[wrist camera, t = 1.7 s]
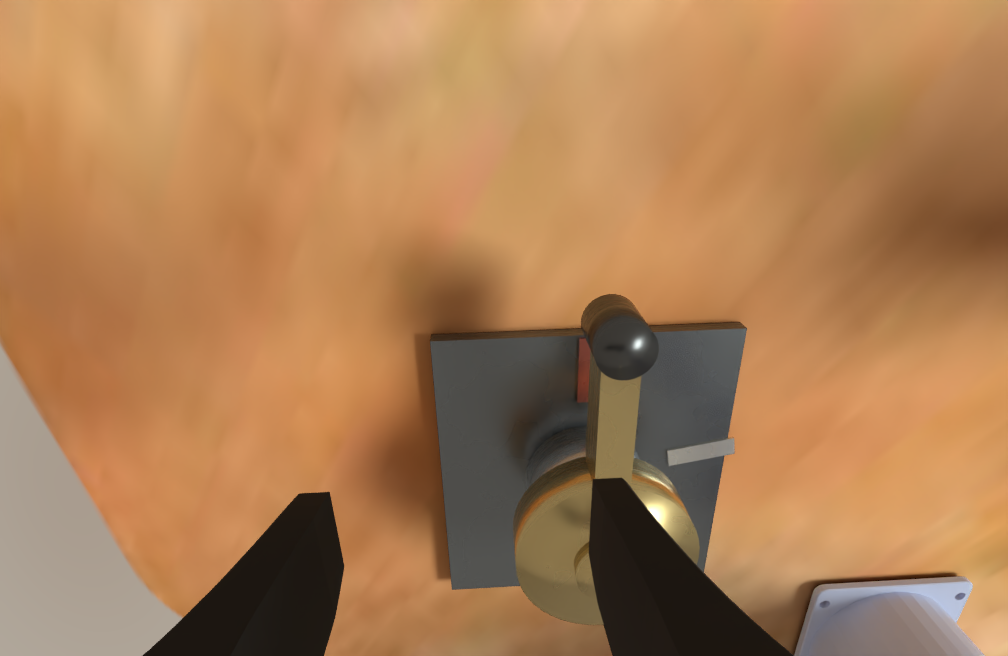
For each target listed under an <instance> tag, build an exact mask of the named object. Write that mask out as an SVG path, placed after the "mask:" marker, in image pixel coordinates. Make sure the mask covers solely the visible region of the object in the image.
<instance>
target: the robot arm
mask: <svg viewBox="0 0 1008 656" xmlns="http://www.w3.org/2000/svg"><path fill="white" fill-rule="evenodd" d="M589 559H590V564H591V570H592V576H593V582H594V587H595V592H596V598H597V603H598V606H599V610H600V614H601V617H602V621H603V624H604V627H605V631H606V634H607V638H608V641H609V645H610V648H611V651H612V655H613V656H985V655H984V654H983V653H982V652H981V651H980V650H979V648H978V647H977V646H976V645H975V644H974V643H973V642H972V641H971V639H970V638H969V637H968V636H967V635H966V634H965V633H964V632H963V630H962V629H961V628H960V627H959V626H958V625H957V624H956V622H957V620H958V618H959V616H960V614H961V612H962V609H963V607H964V605H965V603H966V601H967V599H968V597H969V594H970V592H971V590H972V587H973V585H972V583H971V582H970V581H969V580H968V579H967V578H966V577H961V576H958V577H940V578H923V579H905V580H888V581H870V582H853V583H835V584H822V585H819V586H817V587H816V588H815V589H814V591H813V594H812V597H811V600H810V604H809V607H808V611H807V614H806V617H805V621H804V624H803V627H802V631H801V634H800V637H799V641H798V644H797V647H796V651H795V654H794V655H792V654H791V653H790V652H789V651H788V650H786V649H785V648H784V647H783V646H782V645H780V644H779V643H778V642H777V641H776V640H774V639H773V638H772V637H771V636H770V635H769V634H768V633H766V632H765V631H764V630H763V629H762V628H761V627H760V626H759V625H757V624H756V623H755V622H754V621H753V620H752V619H751V618H750V617H749V616H747V615H746V614H745V613H744V612H743V611H742V610H741V609H740V608H739V607H738V606H737V605H736V604H735V603H734V602H733V601H732V600H731V599H729V598H728V597H727V596H726V595H725V594H724V593H723V592H722V591H721V590H720V589H719V588H718V587H717V586H716V585H715V584H714V583H713V582H712V581H711V580H710V579H709V577H708V576H707V575H706V574H705V573H704V572H703V571H702V570H701V569H700V568H699V567H698V566H697V565H696V564H695V563H694V562H693V561H692V559H691V558H690V557H689V556H688V555H687V554H686V553H685V552H684V551H683V549H682V548H681V547H680V546H679V545H678V544H677V543H676V542H675V541H674V539H673V538H672V537H671V536H670V535H669V534H668V533H667V531H666V530H665V529H664V528H663V527H662V525H661V524H660V523H659V522H658V521H657V519H656V518H655V517H654V516H653V515H652V513H651V512H650V511H649V510H648V508H647V507H646V506H645V505H644V503H643V502H642V501H641V500H640V498H639V497H638V496H637V494H636V493H635V492H634V491H633V489H632V488H631V487H630V485H629V484H628V483H627V482H626V481H625V480H624V479H623V478H603V479H593V481H592V499H591V517H590V535H589ZM343 571H344V563H343V557H342V552H341V547H340V542H339V537H338V532H337V527H336V522H335V517H334V512H333V507H332V502H331V497H330V492H322V493H302V494H298V495H297V496H296V497H295V499H294V500H293V501H292V502H291V503H290V504H289V505H288V506H287V507H286V509H285V510H284V511H283V512H282V513H281V514H280V515H279V516H278V518H277V519H276V520H275V521H274V522H273V523H272V524H271V526H270V527H269V528H268V529H267V530H266V531H265V532H264V534H263V535H262V536H261V537H260V538H259V539H258V540H257V541H256V543H255V544H254V545H253V546H252V547H251V548H250V549H249V550H248V551H247V552H246V554H245V555H244V556H243V557H242V558H241V559H240V560H239V561H238V562H237V563H236V564H235V565H234V567H233V568H232V569H231V570H230V571H229V572H228V573H227V574H226V575H225V576H224V577H223V578H222V579H221V580H220V582H219V583H218V584H217V585H216V586H215V587H214V588H213V589H212V590H211V591H210V592H209V593H208V594H207V595H206V596H205V597H204V598H203V599H202V600H201V601H200V602H199V603H198V604H197V605H196V606H195V607H194V608H193V609H192V610H191V611H190V612H189V613H188V614H187V615H186V616H185V617H184V618H183V619H182V620H181V621H180V622H179V623H178V624H177V625H176V626H175V627H174V628H172V629H171V630H170V631H169V632H168V633H167V634H166V635H165V636H164V637H163V638H162V639H161V640H160V641H158V642H157V643H156V644H155V645H154V646H153V647H152V648H151V649H150V650H149V651H147V652H146V653H145V654H144V655H143V656H324V653H325V650H326V647H327V643H328V640H329V637H330V633H331V630H332V626H333V623H334V619H335V615H336V610H337V605H338V599H339V594H340V588H341V582H342V577H343Z"/></svg>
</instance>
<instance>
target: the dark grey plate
mask: <svg viewBox="0 0 1008 656" xmlns="http://www.w3.org/2000/svg"><path fill="white" fill-rule="evenodd" d="M649 327H650V329H651V330H652V332H653V333H654V334H655V336H656V338H657V340H658V344H659V353H658V357H657V359H656V361H655V363H654V365H653V366H652V367H651V369H649V370H648V371H647V372H646V373H645V374H643V375H642V376H641V384H640V395H639V406H638V417H637V428H636V438H635V449H634V458H636V459H639V460H642V461H644V462H647V463H649V464H651V465H652V466H654V467H656V468H657V469H659V470H660V471H661V472H663V473H664V474H665V475H666V476H667V477H668V478H669V479H670V481H671V482H672V483H673V485H674V486H675V488H676V490H677V492H678V494H679V496H680V498H681V500H682V502H683V504H684V506H685V508H686V510H687V512H688V515H689V517H690V519H691V521H692V523H693V525H694V527H695V529H696V531H697V535H698V538H699V546H700V549H699V558H698V562H697V566H698V567H699V568H700V569H701V570H702V571H703V572H704V568H705V562H706V557H707V551H708V545H709V540H710V534H711V528H712V523H713V517H714V511H715V506H716V500H717V495H718V489H719V483H720V478H721V472H722V466H723V461H724V455H730V454H735V453H734V437H730V438H728V432H729V427H730V421H731V416H732V410H733V404H734V399H735V393H736V387H737V382H738V376H739V370H740V365H741V359H742V353H743V348H744V342H745V337H746V331H747V328H746V327H745V326H744V325H743V324H742V323H740V322H730V323H705V324H680V325H656V326H649ZM430 346H431V357H432V368H433V380H434V391H435V402H436V414H437V425H438V436H439V448H440V459H441V470H442V482H443V493H444V504H445V516H446V527H447V539H448V550H449V561H450V573H451V584H452V590H454V589H472V588H490V587H508V586H520V584H519V581H518V577H517V572H516V561H515V549H514V537H513V519H514V514H515V510H516V508H517V505H518V503H519V501H520V499H521V498H522V496H523V494H524V493H525V492H526V490H527V489H528V488H529V487H530V486H531V485H532V484H533V483H534V482H535V481H536V480H537V479H538V478H539V477H541V476H542V475H543V474H545V473H546V472H547V471H549V470H551V469H553V468H554V467H556V466H558V465H560V464H563V463H565V462H567V461H570V460H573V459H577V458H580V457H585V455H586V434H587V412H588V391H589V370H590V348H589V345H588V343H587V341H586V338H585V336H584V334H583V331H582V329H558V330H533V331H508V332H484V333H459V334H435V335H431V339H430Z"/></svg>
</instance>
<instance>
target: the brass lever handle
mask: <svg viewBox="0 0 1008 656" xmlns="http://www.w3.org/2000/svg"><path fill="white" fill-rule="evenodd" d="M581 327H582V331H583V334H584V336H585V338H586V341H587V343H588V345H589V348H590V370H589V391H588V412H587V434H586V455H585V457H580V458H577V459H573V460H570V461H567V462H565V463H563V464H560V465H558V466H556V467H554V468H553V469H551V470H549V471H547V472H546V473H545V474H543V475H542V476H541V477H539V478H538V479H537V480H536V481H535V482H534V483H533V484H532V485H531V486H530V487H529V488H528V489H527V490H526V492H525V493H524V494H523V496H522V498H521V499H520V501H519V503H518V505H517V508H516V510H515V514H514V519H513V537H514V549H515V561H516V572H517V577H518V581H519V584H520V586H521V588H522V590H523V592H524V593H525V594H526V596H527V597H528V599H529V600H530V601H531V602H532V603H533V604H534V605H536V606H537V607H538V608H540V609H541V610H542V611H544V612H546V613H548V614H549V615H551V616H554V617H556V618H558V619H561V620H565V621H568V622H572V623H578V624H587V625H604V624H603V621H602V617H601V614H600V610H599V606H598V603H597V598H596V592H595V587H594V582H593V576H592V570H591V564H590V559H589V535H590V517H591V499H592V481H593V479H603V478H623V479H624V480H625V481H626V482H627V483H628V484H629V485H630V487H631V488H632V489H633V491H634V492H635V493H636V494H637V496H638V497H639V498H640V500H641V501H642V502H643V503H644V505H645V506H646V507H647V508H648V510H649V511H650V512H651V513H652V515H653V516H654V517H655V518H656V519H657V521H658V522H659V523H660V524H661V525H662V527H663V528H664V529H665V530H666V531H667V533H668V534H669V535H670V536H671V537H672V538H673V539H674V541H675V542H676V543H677V544H678V545H679V546H680V547H681V548H682V549H683V551H684V552H685V553H686V554H687V555H688V556H689V557H690V558H691V559H692V561H693V562H694V563H695V564H696V565H697V562H698V558H699V549H700V546H699V538H698V535H697V531H696V529H695V527H694V525H693V523H692V521H691V519H690V517H689V515H688V512H687V510H686V508H685V506H684V504H683V502H682V500H681V498H680V496H679V494H678V492H677V490H676V488H675V486H674V485H673V483H672V482H671V481H670V479H669V478H668V477H667V476H666V475H665V474H664V473H663V472H661V471H660V470H659V469H657V468H656V467H654V466H652V465H651V464H649V463H647V462H644V461H642V460H639V459H636V458H634V449H635V438H636V428H637V417H638V406H639V395H640V384H641V376H642V375H643V374H645V373H646V372H647V371H648V370H649V369H651V367H652V366H653V365H654V363H655V361H656V359H657V357H658V353H659V344H658V340H657V338H656V336H655V334H654V333H653V332H652V330H651V329H650V327H649V326H648V324H647V323H646V322H645V320H644V319H643V317H642V316H641V314H640V313H639V312H638V310H637V309H636V307H635V306H634V305H633V303H632V302H631V301H630V300H629V299H627V298H625V297H623V296H621V295H616V294H608V295H603V296H600V297H598V298H596V299H595V300H593V301H592V302H591V303H590V304H589V305H588V306H587V307H586V308H585V310H584V312H583V315H582V318H581Z"/></svg>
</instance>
